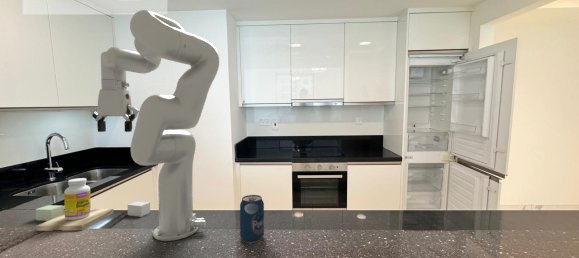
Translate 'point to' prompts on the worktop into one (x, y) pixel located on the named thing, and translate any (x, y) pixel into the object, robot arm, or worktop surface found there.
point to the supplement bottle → (77, 199)
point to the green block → (49, 212)
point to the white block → (138, 208)
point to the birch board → (74, 221)
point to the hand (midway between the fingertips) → (115, 131)
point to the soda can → (251, 218)
